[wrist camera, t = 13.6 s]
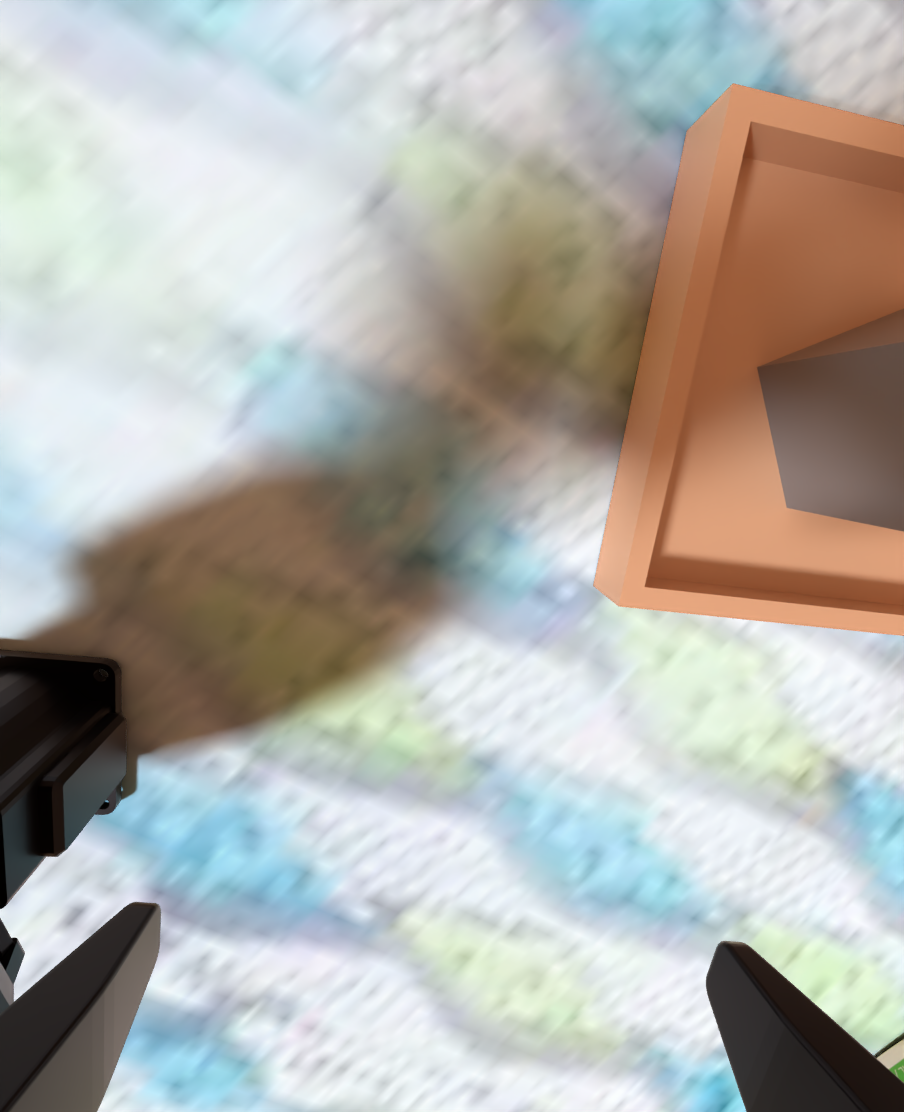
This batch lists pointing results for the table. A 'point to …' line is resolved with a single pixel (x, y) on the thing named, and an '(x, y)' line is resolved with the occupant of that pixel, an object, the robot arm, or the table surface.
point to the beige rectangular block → (842, 424)
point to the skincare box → (894, 1059)
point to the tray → (731, 368)
